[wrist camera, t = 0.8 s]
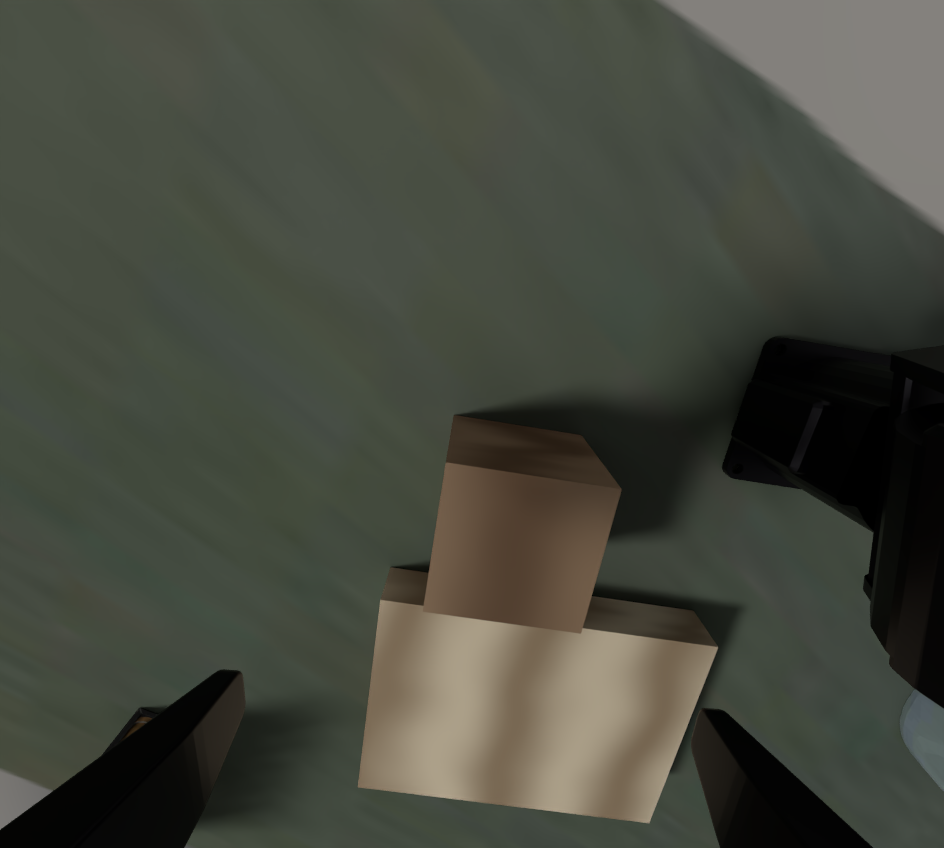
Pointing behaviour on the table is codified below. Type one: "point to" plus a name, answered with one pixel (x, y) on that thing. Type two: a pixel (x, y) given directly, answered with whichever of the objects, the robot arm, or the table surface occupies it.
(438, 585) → the walnut cube
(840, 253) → the table surface
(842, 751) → the table surface
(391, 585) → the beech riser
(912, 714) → the grey-blue cup
